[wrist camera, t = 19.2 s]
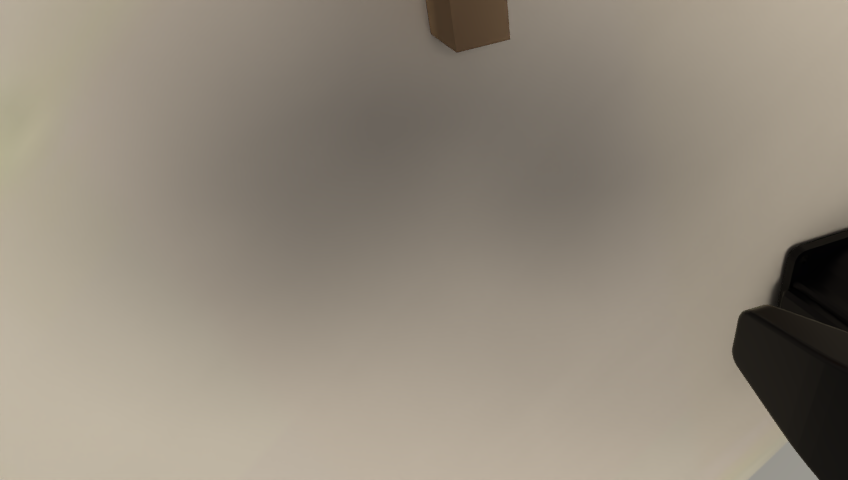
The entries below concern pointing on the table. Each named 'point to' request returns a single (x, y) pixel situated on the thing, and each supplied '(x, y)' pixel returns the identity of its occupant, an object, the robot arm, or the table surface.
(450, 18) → the rail
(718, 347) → the table surface
